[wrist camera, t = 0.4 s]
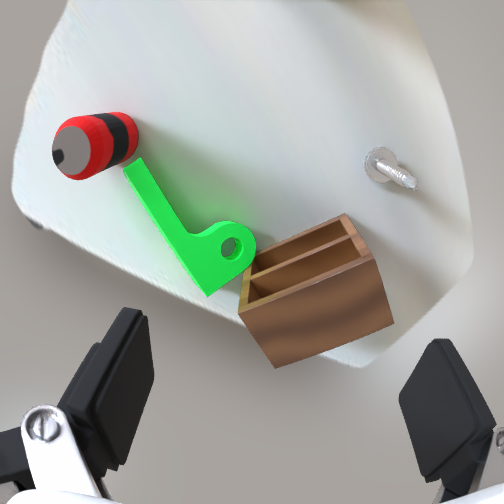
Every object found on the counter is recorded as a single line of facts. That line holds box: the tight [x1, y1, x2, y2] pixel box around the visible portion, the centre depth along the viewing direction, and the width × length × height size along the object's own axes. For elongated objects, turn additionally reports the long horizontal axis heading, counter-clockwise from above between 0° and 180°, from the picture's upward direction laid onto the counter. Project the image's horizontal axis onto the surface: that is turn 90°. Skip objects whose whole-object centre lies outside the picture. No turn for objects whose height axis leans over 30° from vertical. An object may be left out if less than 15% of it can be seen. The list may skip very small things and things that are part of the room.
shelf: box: [238, 214, 394, 369], centre depth 41 cm, size 10×16×14 cm, turn 117°
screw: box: [364, 147, 419, 191], centre depth 34 cm, size 13×5×5 cm
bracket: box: [123, 157, 256, 297], centre depth 42 cm, size 20×10×7 cm
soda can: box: [52, 112, 138, 180], centre depth 34 cm, size 8×8×12 cm
